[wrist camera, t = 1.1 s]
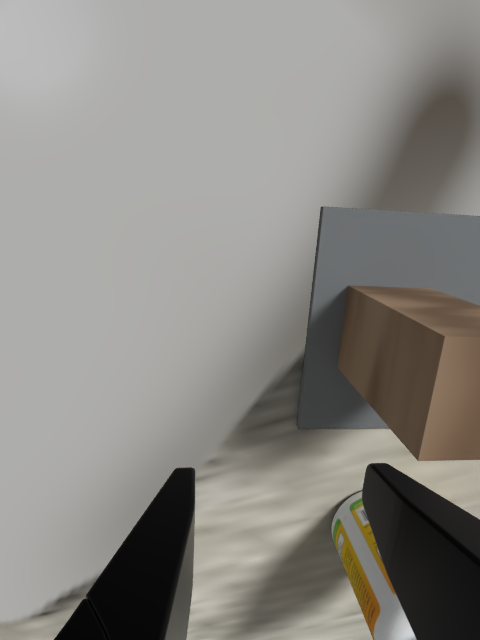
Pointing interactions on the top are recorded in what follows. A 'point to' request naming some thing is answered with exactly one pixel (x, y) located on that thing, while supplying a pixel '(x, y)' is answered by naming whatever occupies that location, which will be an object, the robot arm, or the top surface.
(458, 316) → the walnut block
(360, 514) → the supplement bottle
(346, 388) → the gray flat panel
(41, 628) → the top surface
